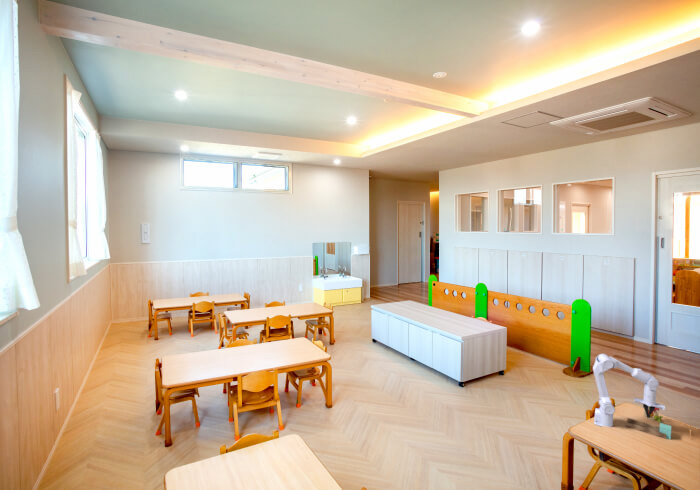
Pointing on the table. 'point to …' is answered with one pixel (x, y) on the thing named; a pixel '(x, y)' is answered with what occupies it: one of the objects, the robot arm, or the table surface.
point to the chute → (645, 428)
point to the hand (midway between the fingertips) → (648, 417)
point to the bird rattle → (653, 415)
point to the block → (665, 430)
